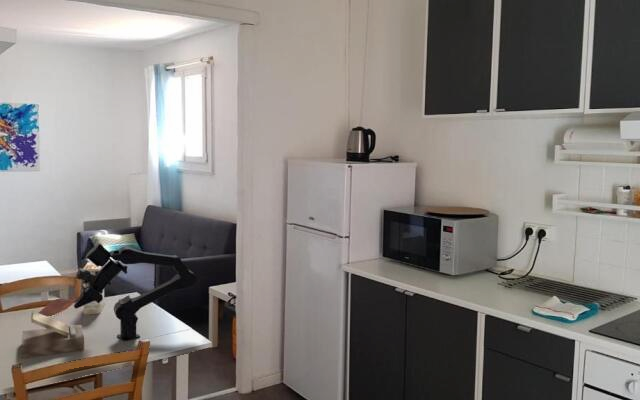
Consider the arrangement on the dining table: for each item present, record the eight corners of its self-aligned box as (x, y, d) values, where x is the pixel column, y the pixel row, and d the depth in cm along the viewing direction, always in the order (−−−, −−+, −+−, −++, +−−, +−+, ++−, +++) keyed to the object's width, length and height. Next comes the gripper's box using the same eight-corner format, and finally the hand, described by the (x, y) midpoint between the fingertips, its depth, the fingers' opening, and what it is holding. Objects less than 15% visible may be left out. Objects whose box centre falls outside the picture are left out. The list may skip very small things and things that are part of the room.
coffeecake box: (88, 304, 254) (87, 261, 253) (105, 303, 256) (104, 261, 254) (82, 314, 240) (81, 269, 238) (100, 313, 242) (99, 268, 240)
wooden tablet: (55, 300, 261) (55, 297, 261) (78, 301, 262) (78, 297, 262) (30, 318, 235) (30, 314, 235) (55, 318, 235) (55, 314, 235)
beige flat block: (81, 336, 214) (81, 322, 213) (84, 349, 200) (83, 334, 200) (22, 343, 205) (22, 328, 204) (21, 357, 192) (21, 342, 191)
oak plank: (66, 327, 209) (67, 324, 209) (67, 336, 200) (69, 333, 200) (31, 314, 203) (33, 311, 203) (31, 322, 194) (33, 319, 194)
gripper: (87, 255, 214) (56, 287, 210) (92, 265, 197) (57, 300, 193) (110, 274, 218) (79, 305, 214) (116, 286, 201) (83, 319, 197)
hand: (74, 307), depth 205 cm, fingers closed
